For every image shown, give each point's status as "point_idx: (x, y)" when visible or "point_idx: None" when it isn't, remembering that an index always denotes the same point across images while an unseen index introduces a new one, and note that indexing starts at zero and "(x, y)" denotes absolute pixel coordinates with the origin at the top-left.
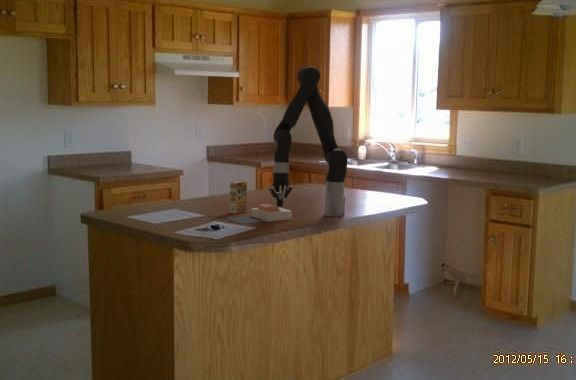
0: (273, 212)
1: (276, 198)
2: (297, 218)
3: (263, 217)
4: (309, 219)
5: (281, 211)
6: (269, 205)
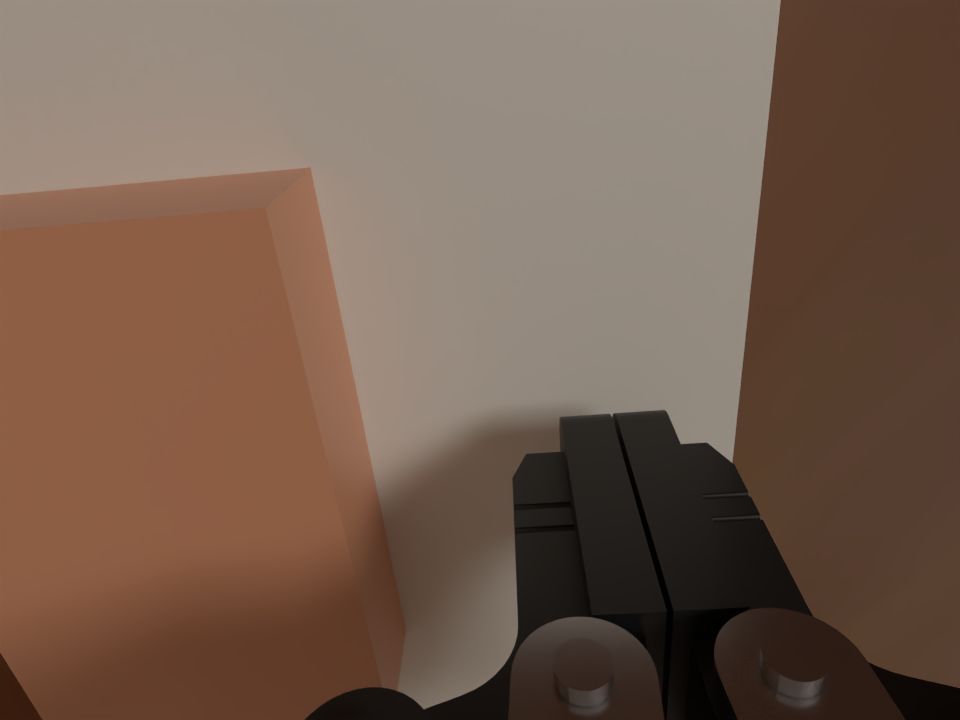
0: None
1: (485, 695)
2: (817, 537)
3: None
4: (935, 649)
5: (447, 677)
6: (198, 503)
